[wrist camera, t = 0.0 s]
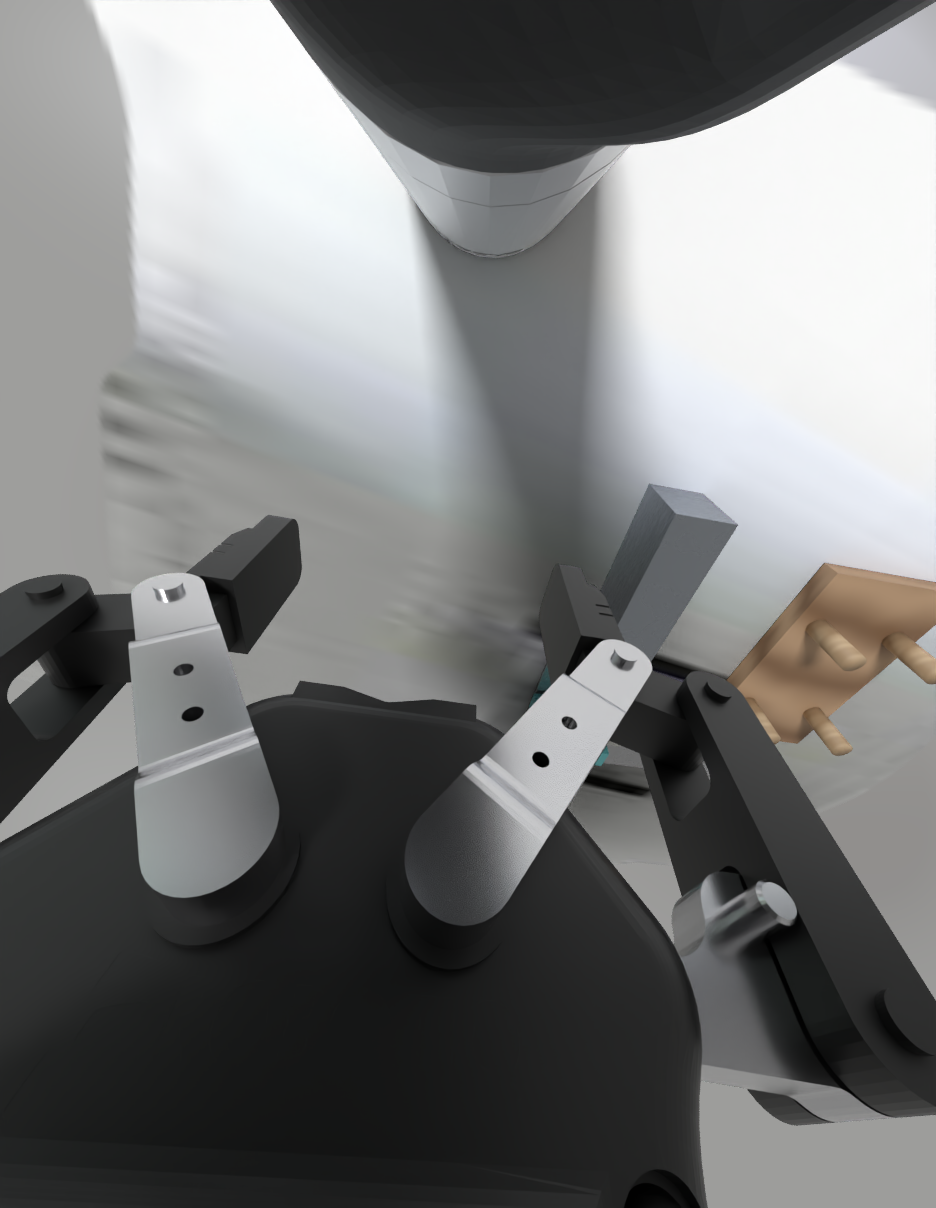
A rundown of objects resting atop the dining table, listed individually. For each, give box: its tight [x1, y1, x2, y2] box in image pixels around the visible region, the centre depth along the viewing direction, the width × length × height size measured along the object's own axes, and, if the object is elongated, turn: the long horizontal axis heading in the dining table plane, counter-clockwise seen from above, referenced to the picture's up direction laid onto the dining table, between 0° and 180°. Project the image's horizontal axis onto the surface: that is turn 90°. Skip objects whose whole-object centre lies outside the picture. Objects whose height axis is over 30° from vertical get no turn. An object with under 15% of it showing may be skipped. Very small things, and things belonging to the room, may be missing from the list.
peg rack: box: [726, 563, 936, 756], centre depth 35 cm, size 20×11×6 cm, turn 170°
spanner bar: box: [600, 484, 738, 662], centre depth 32 cm, size 18×6×5 cm, turn 170°
